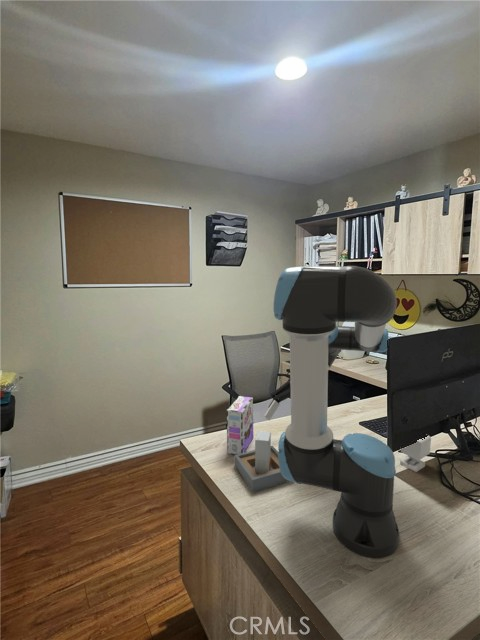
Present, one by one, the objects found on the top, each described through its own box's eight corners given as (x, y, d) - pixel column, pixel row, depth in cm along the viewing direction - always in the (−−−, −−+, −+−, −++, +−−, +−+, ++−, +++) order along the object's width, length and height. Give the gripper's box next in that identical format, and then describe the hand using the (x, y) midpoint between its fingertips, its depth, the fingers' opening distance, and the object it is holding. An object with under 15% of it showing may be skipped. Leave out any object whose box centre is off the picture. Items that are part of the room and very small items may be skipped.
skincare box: (268, 477, 101) (268, 441, 99) (254, 475, 102) (254, 439, 100) (271, 466, 107) (271, 431, 105) (258, 464, 108) (257, 430, 106)
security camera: (429, 465, 107) (431, 436, 105) (417, 472, 103) (419, 443, 102) (409, 456, 112) (411, 428, 111) (398, 463, 108) (400, 434, 107)
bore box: (294, 479, 101) (294, 468, 100) (252, 492, 95) (252, 480, 95) (272, 456, 113) (272, 445, 113) (234, 466, 108) (234, 455, 107)
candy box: (242, 457, 113) (242, 412, 111) (226, 454, 115) (225, 409, 113) (254, 437, 126) (253, 396, 124) (239, 435, 128) (238, 395, 125)
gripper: (348, 389, 104) (313, 448, 98) (294, 369, 124) (262, 417, 118) (337, 376, 100) (300, 436, 94) (283, 358, 121) (250, 407, 115)
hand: (279, 426), depth 106 cm, fingers open, 13 cm apart
